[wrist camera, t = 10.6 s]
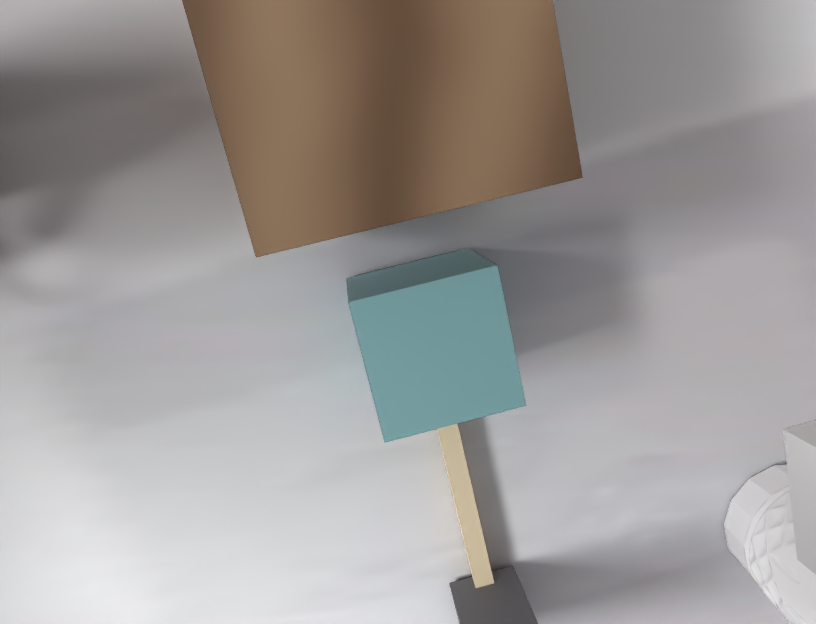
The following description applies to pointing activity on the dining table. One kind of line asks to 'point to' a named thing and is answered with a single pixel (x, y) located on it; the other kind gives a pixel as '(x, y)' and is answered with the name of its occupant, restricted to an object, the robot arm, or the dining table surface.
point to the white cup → (771, 544)
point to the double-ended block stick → (445, 387)
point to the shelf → (381, 108)
